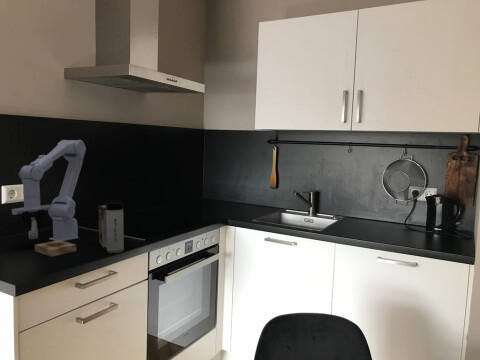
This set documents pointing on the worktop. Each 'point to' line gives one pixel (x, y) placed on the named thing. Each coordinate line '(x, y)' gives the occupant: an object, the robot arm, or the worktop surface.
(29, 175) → the robot arm
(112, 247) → the travel mug
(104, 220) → the coffee box
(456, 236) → the worktop surface
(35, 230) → the metal peg
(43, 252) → the socket plate
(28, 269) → the worktop surface
